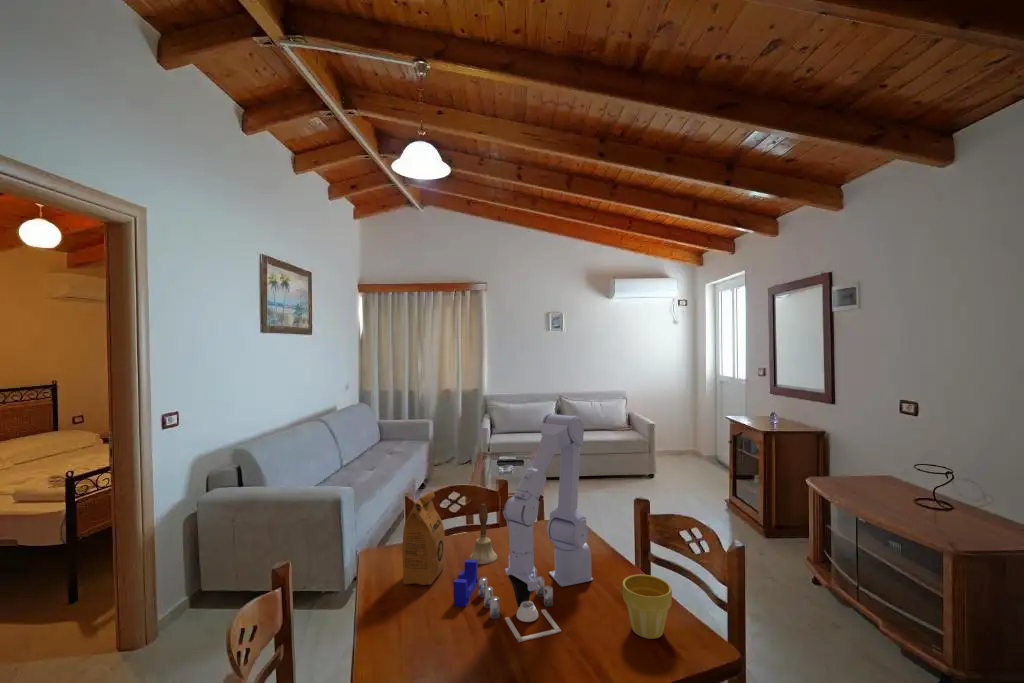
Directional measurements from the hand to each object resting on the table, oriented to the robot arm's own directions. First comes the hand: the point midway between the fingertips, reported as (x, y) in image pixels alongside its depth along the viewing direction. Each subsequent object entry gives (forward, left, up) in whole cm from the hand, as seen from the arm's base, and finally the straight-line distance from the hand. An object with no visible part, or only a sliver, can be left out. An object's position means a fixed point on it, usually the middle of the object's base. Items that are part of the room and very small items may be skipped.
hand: (522, 606), depth 111 cm
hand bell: (+1, -30, -1) cm, 30 cm away
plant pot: (-23, +17, -1) cm, 28 cm away
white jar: (0, +3, -1) cm, 3 cm away
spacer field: (0, -5, -1) cm, 5 cm away
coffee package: (+19, -25, -1) cm, 32 cm away
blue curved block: (+11, -13, -2) cm, 17 cm away
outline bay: (0, +6, -1) cm, 6 cm away
